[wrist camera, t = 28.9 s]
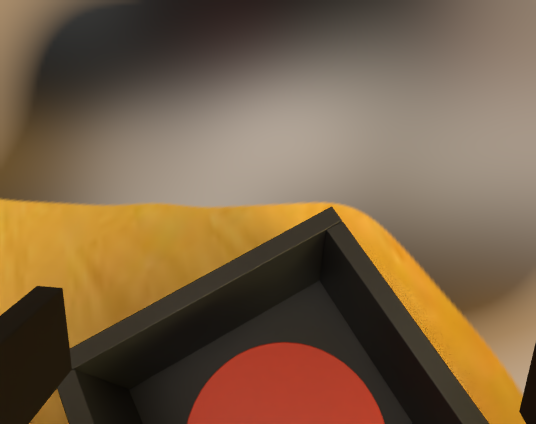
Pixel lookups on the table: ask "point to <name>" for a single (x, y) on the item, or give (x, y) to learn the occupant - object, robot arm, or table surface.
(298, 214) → the table surface
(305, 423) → the cap
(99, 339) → the bin
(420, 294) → the table surface
